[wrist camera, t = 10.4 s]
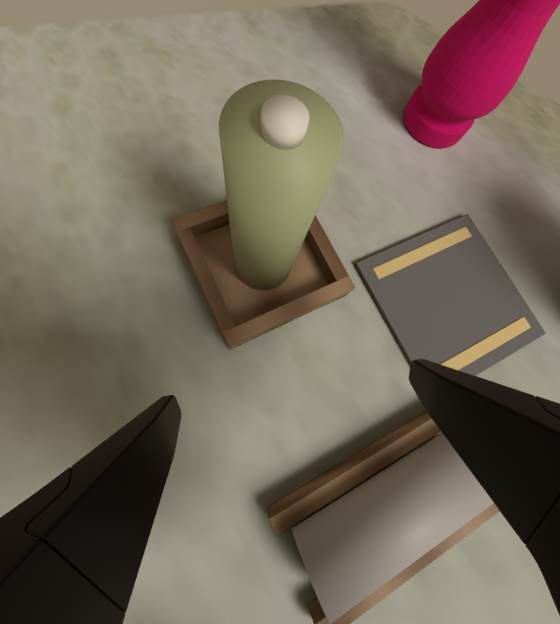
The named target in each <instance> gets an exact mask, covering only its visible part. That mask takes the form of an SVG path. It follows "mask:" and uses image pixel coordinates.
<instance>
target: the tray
mask: <svg viewBox="0 0 560 624" xmlns="http://www.w3.org/2000/svg"><path fill="white" fill-rule="evenodd" d="M171 221H172V223H173V225H174V227H175V229H176V232H177V234H178V236H179V238H180V241H181V243H182V245H183V247H184V249H185V252H186V254H187V256H188V258H189V261H190V263H191V265H192V267H193V269H194V272H195V274H196V276H197V278H198V281H199V283H200V285H201V287H202V289H203V292H204V294H205V296H206V298H207V301H208V303H209V305H210V307H211V309H212V312H213V314H214V316H215V318H216V321H217V323H218V325H219V327H220V329H221V332H222V334H223V336H224V338H225V341H226V343H227V345H228V347H229V348H230V349H232V348H234V347H236V346H238V345H240V344H243V343H245V342H247V341H249V340H251V339H253V338H255V337H258V336H260V335H262V334H264V333H266V332H268V331H271V330H273V329H275V328H277V327H279V326H281V325H283V324H286V323H288V322H290V321H292V320H294V319H296V318H298V317H301V316H303V315H305V314H307V313H309V312H311V311H313V310H316V309H318V308H320V307H322V306H324V305H326V304H329V303H331V302H333V301H335V300H337V299H339V298H341V297H344V296H346V295H347V294H348V293H349V292H351V291H352V290H353V289H354V288H355V286H354V285H353V283H352V281H351V279H350V277H349V276H348V274H347V272H346V270H345V268H344V266H343V265H342V263H341V261H340V259H339V257H338V256H337V254H336V252H335V250H334V248H333V246H332V245H331V243H330V241H329V239H328V237H327V236H326V234H325V232H324V230H323V228H322V226H321V225H320V223H319V221H318V219H317V217H316V216H314V218H313V221H312V223H311V225H310V228H309V230H308V232H307V234H306V237H305V239H304V241H303V244H302V246H301V248H300V251H299V253H298V255H297V257H296V260H295V262H294V264H293V267H292V269H291V271H290V274H289V276H288V278H287V279H286V280H285V282H284V283H282V284H281V285H280V286H278V287H276V288H274V289H271V290H256V289H253V288H251V287H249V286H247V285H246V284H244V283H243V282H242V281H241V280H240V278H239V277H238V275H237V273H236V270H235V266H234V257H233V248H232V239H231V231H230V222H229V213H228V204H227V201H224V202H222V203H219V204H216V205H213V206H210V207H207V208H204V209H201V210H198V211H196V212H193V213H190V214H187V215H184V216H181V217H178V218H175V219H173V220H171Z"/></svg>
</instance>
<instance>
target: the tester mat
mask: <svg viewBox="0 0 560 624" xmlns="http://www.w3.org/2000/svg"><path fill="white" fill-rule="evenodd" d="M355 266H356V268H357V270H358V272H359V274H360V275H361V277H362V279H363V281H364V283H365V284H366V286H367V288H368V290H369V292H370V293H371V295H372V297H373V299H374V301H375V302H376V304H377V306H378V308H379V309H380V311H381V313H382V315H383V317H384V318H385V320H386V322H387V324H388V326H389V327H390V329H391V331H392V333H393V335H394V336H395V338H396V340H397V342H398V344H399V345H400V347H401V349H402V351H403V353H404V354H405V356H406V358H407V360H408V361H409V363H410V365H411V362H412V361H413V360H416V359H426V360H429V361H432V362H435V363H438V364H441V365H444V366H447V367H450V368H453V369H456V370H459V371H462V372H465V373H468V374H471V375H474V376H476V375H477V374H479V373H481V372H482V371H484V370H486V369H487V368H489V367H491V366H492V365H494V364H496V363H497V362H499V361H501V360H502V359H504V358H506V357H507V356H509V355H511V354H512V353H514V352H515V351H517V350H519V349H520V348H522V347H524V346H525V345H527V344H529V343H530V342H532V341H534V340H535V339H537V338H539V337H540V336H542V335H544V334H545V332H544V330H543V328H542V327H541V325H540V324H539V322H538V321H537V319H536V318H535V316H534V315H533V313H532V312H531V310H530V309H529V307H528V306H527V304H526V302H525V301H524V299H523V298H522V296H521V295H520V293H519V292H518V290H517V289H516V287H515V286H514V284H513V283H512V281H511V280H510V278H509V276H508V275H507V273H506V272H505V270H504V269H503V267H502V266H501V264H500V263H499V261H498V260H497V258H496V257H495V255H494V254H493V252H492V251H491V249H490V247H489V246H488V244H487V243H486V241H485V240H484V238H483V237H482V235H481V234H480V232H479V231H478V229H477V228H476V226H475V225H474V223H473V221H472V220H471V218H470V217H469V215H468V214H466V215H464V216H462V217H460V218H457V219H455V220H453V221H450V222H448V223H446V224H444V225H441V226H439V227H437V228H435V229H432V230H430V231H428V232H426V233H423V234H421V235H419V236H416V237H414V238H412V239H410V240H407V241H405V242H403V243H401V244H398V245H396V246H394V247H392V248H389V249H387V250H385V251H382V252H380V253H378V254H376V255H373V256H371V257H369V258H367V259H364V260H362V261H360V262H358V263H356V264H355Z"/></svg>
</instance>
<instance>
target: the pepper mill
mask: <svg viewBox="0 0 560 624" xmlns="http://www.w3.org/2000/svg"><path fill="white" fill-rule="evenodd" d="M559 4H560V0H480V1H478V2H477V3H476V4H475V5H474V6H473V7H472V8H471V9H470V10H469V11H468V12H467V13H466V14H465V15H464V16H462V17H461V18H460V19H459V20H458V21H457V22H456V23H455V24H454V25H453V26H452V27H451V28H450V29H449V30H448V31H447V32H446V33H445V34H444V36H443V37H442V38H441V39H440V40H439V42H438V43H437V45H436V46H435V48H434V49H433V51H432V52H431V54H430V55H429V57H428V58H427V60H426V62H425V65H424V68H423V72H422V84H421V85H420V86H419V87H418V88H417V89H416V90H415V92H414V94H413V95H412V97H411V99H410V100H409V102H408V104H407V106H406V107H405V111H404V122H405V124H406V127H407V129H408V131H409V132H410V134H411V135H412V136H413V137H414V138H415V139H416V140H418V141H419V142H421V143H423V144H424V145H427V146H429V147H433V148H446V147H450V146H452V145H454V144H456V143H457V142H458V141H459V140H460V139H461V138H462V137H463V136H464V134H465V133H466V132H467V131H468V130H469V129H470V128H471V126H472V125H473V123H474V119H477V118H480V117H482V116H485V115H486V114H488V113H490V112H492V111H493V110H494V109H495V108H496V107H497V106H498V105H499V104H500V103H501V102H502V100H503V99H504V98H505V97H506V96H507V94H508V93H509V92H510V91H511V89H512V88H513V86H514V84H515V83H516V81H517V80H518V78H519V76H520V75H521V73H522V71H523V69H524V67H525V65H526V63H527V61H528V59H529V57H530V54H531V52H532V50H533V48H534V46H535V44H536V42H537V40H538V38H539V36H540V34H541V32H542V30H543V28H544V27H545V25H546V24H547V22H548V21H549V19H550V17H551V16H552V14H553V13H554V11H555V9H556V8H557V7H558V6H559Z"/></svg>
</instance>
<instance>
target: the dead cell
mask: <svg viewBox="0 0 560 624" xmlns="http://www.w3.org/2000/svg"><path fill="white" fill-rule="evenodd" d="M493 503H494V502H493V501H492V500H491V498H490V497H489V496H488V494H487V493H486V492H485V490H484V489H483V487H482V486H481V485H480V483H479V482H478V481H477V479H476V478H475V477H474V475H473V474H472V473H471V471H470V470H469V469H468V467H467V466H466V464H465V463H464V462H463V460H462V459H461V458H460V456H459V455H458V454H457V452H456V451H455V450H454V448H453V447H452V446H451V444H450V443H449V441H448V440H447V439H446V437H445V436H444V435H443V433H442V432H441V433H439V434H438V435H436V436H435V437H433V438H432V439H430V440H428V441H427V442H425V443H424V444H422V445H421V446H419V447H417V448H416V449H414V450H413V451H411V452H409V453H408V454H406V455H405V456H403V457H402V458H400V459H398V460H397V461H395V462H394V463H392V464H391V465H389V466H387V467H386V468H384V469H383V470H381V471H380V472H378V473H376V474H375V475H373V476H372V477H370V478H369V479H367V480H365V481H364V482H362V483H361V484H359V485H358V486H356V487H354V488H353V489H351V490H350V491H348V492H347V493H345V494H343V495H342V496H340V497H339V498H337V499H336V500H334V501H332V502H331V503H329V504H328V505H326V506H325V507H323V508H321V509H320V510H318V511H317V512H315V513H314V514H312V515H310V516H309V517H307V518H306V519H304V520H303V521H301V522H299V523H298V524H296V525H295V526H293V527H292V532H293V535H294V538H295V541H296V544H297V547H298V550H299V553H300V555H301V558H302V561H303V563H304V566H305V568H306V571H307V573H308V576H309V578H310V581H311V583H312V586H313V588H314V591H315V593H316V595H317V598H318V600H319V602H320V605H321V607H322V609H323V611H324V613H325V615H326V617H327V619H328V621H329V623H330V624H331V623H332V622H334V621H335V620H336V619H338V618H339V617H340V616H342V615H343V614H345V613H346V612H347V611H349V610H350V609H351V608H353V607H354V606H355V605H357V604H358V603H359V602H361V601H362V600H363V599H365V598H366V597H368V596H369V595H370V594H372V593H373V592H374V591H376V590H377V589H378V588H380V587H381V586H382V585H384V584H385V583H386V582H388V581H389V580H391V579H392V578H393V577H395V576H396V575H397V574H399V573H400V572H401V571H403V570H404V569H405V568H407V567H408V566H409V565H411V564H412V563H414V562H415V561H416V560H418V559H419V558H420V557H422V556H423V555H424V554H426V553H427V552H428V551H430V550H431V549H432V548H434V547H435V546H437V545H438V544H439V543H441V542H442V541H443V540H445V539H446V538H447V537H449V536H450V535H451V534H453V533H454V532H455V531H457V530H458V529H460V528H461V527H462V526H464V525H465V524H466V523H468V522H469V521H470V520H472V519H473V518H474V517H476V516H477V515H478V514H480V513H481V512H483V511H484V510H485V509H487V508H488V507H489V506H491V505H492V504H493Z"/></svg>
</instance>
